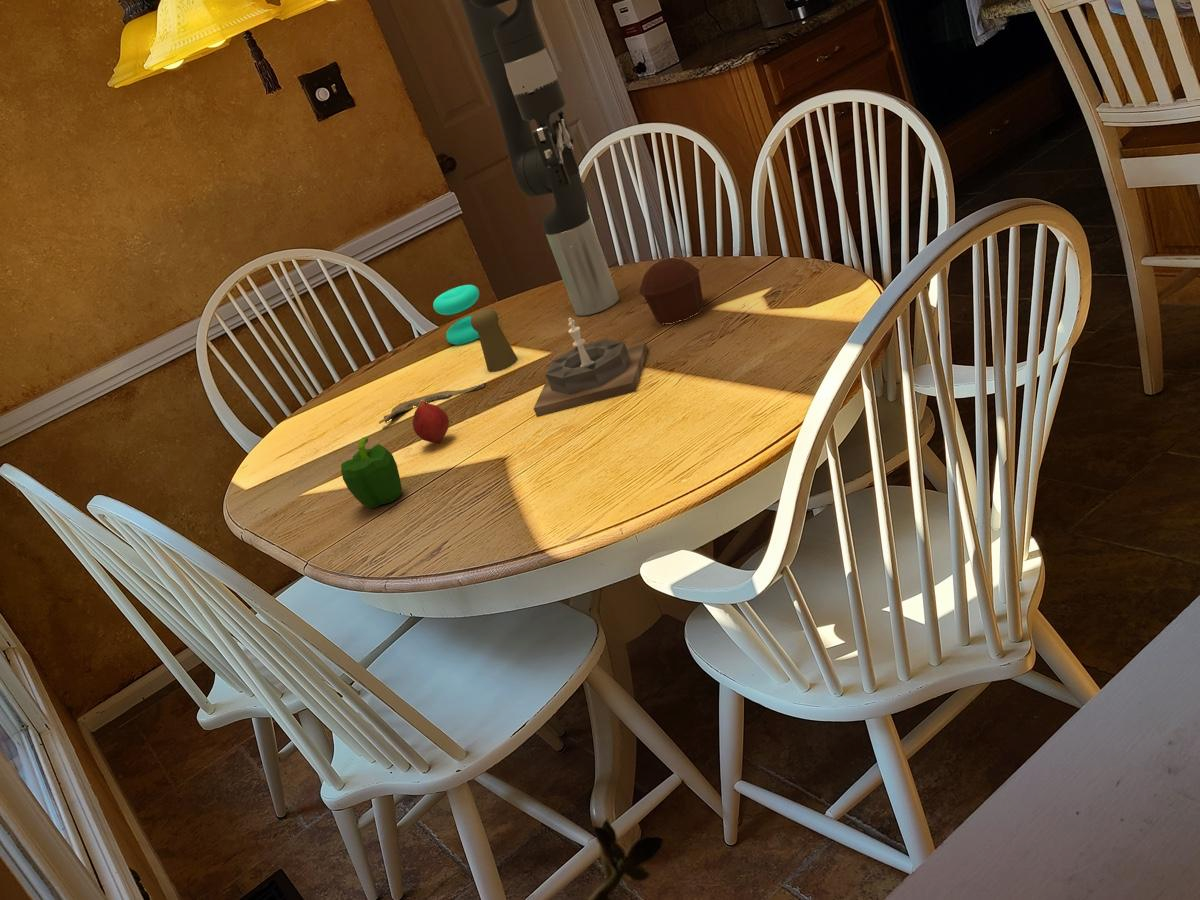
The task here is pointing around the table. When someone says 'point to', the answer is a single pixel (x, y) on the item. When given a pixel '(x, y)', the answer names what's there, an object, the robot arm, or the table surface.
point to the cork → (493, 341)
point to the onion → (430, 422)
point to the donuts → (456, 303)
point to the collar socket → (591, 375)
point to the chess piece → (579, 343)
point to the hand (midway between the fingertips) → (569, 181)
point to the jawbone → (427, 400)
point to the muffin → (672, 290)
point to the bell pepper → (372, 475)
